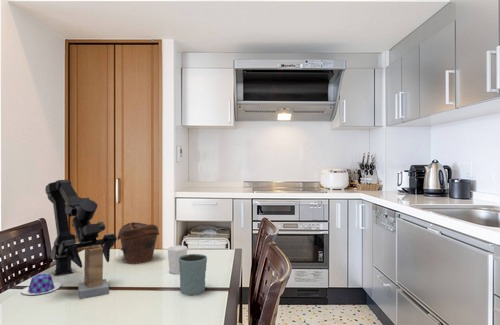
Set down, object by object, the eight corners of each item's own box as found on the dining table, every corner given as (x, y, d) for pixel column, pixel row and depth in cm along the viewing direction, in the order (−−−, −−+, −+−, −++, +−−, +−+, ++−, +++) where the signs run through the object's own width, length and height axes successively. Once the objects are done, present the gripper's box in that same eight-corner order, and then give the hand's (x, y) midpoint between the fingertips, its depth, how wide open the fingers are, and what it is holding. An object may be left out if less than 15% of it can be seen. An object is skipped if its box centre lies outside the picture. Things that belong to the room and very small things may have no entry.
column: (84, 284, 115) (84, 245, 116) (97, 281, 119) (97, 243, 119) (89, 288, 112) (89, 247, 113) (102, 284, 116) (103, 245, 116)
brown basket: (128, 253, 166) (128, 218, 166) (165, 255, 164) (165, 219, 164) (108, 264, 149) (108, 225, 149) (149, 266, 146) (150, 226, 146)
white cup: (182, 274, 134) (182, 250, 135) (164, 273, 136) (164, 249, 136) (189, 269, 142) (189, 246, 142) (172, 267, 144) (172, 245, 144)
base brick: (78, 290, 117) (78, 283, 117) (105, 285, 122) (105, 278, 122) (79, 298, 109) (79, 291, 109) (108, 293, 114) (108, 286, 114)
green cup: (182, 298, 110) (182, 262, 111) (175, 288, 119) (175, 255, 120) (210, 293, 115) (211, 258, 115) (201, 283, 124) (201, 252, 124)
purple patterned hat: (31, 299, 110) (31, 283, 110) (14, 292, 116) (15, 277, 116) (67, 288, 120) (67, 274, 120) (50, 282, 126) (50, 268, 126)
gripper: (61, 217, 112) (72, 256, 104) (115, 212, 125) (128, 246, 118) (53, 237, 117) (63, 275, 109) (106, 230, 131) (118, 263, 123)
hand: (95, 264), depth 115 cm, fingers open, 9 cm apart
